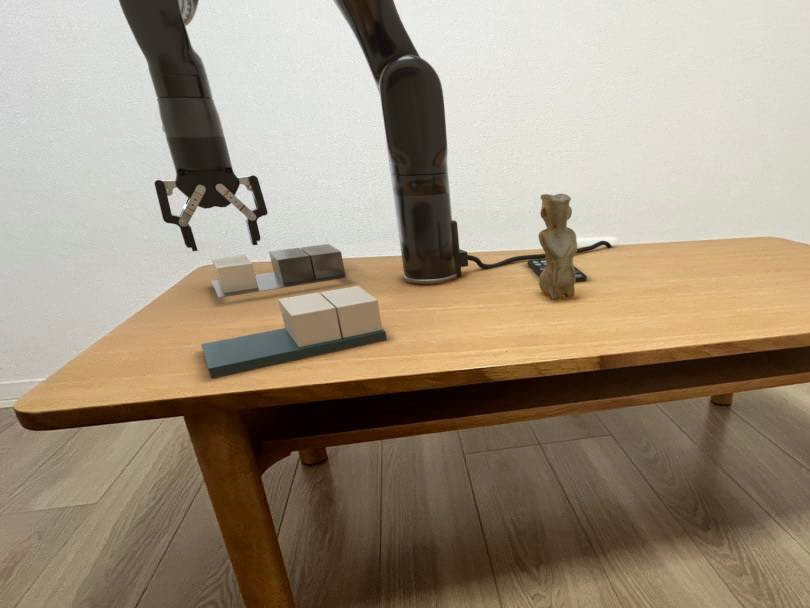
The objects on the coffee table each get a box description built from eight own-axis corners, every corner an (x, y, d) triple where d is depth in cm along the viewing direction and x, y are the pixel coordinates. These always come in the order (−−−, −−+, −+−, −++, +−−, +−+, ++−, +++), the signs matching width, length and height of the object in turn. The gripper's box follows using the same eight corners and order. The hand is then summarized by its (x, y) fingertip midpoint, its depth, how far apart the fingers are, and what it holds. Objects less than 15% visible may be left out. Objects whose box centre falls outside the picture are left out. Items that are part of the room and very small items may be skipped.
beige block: (251, 277, 93) (244, 254, 91) (258, 288, 87) (252, 263, 85) (218, 282, 91) (211, 258, 89) (224, 293, 85) (216, 268, 83)
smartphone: (546, 280, 90) (525, 260, 103) (546, 284, 91) (526, 263, 103) (588, 276, 92) (562, 257, 105) (588, 280, 92) (562, 260, 105)
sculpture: (567, 287, 89) (568, 190, 82) (582, 299, 83) (585, 196, 76) (534, 290, 88) (532, 192, 81) (546, 303, 82) (545, 198, 74)
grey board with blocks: (331, 270, 102) (325, 242, 100) (350, 284, 93) (344, 253, 91) (212, 287, 92) (203, 257, 90) (220, 305, 84) (210, 271, 81)
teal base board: (365, 321, 76) (358, 284, 73) (387, 339, 69) (380, 300, 67) (204, 353, 66) (190, 312, 64) (211, 378, 59) (196, 334, 57)
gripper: (136, 135, 72) (175, 257, 80) (252, 133, 79) (277, 246, 87) (136, 134, 78) (172, 248, 85) (244, 133, 85) (269, 238, 92)
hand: (225, 247), depth 86 cm, fingers open, 8 cm apart
